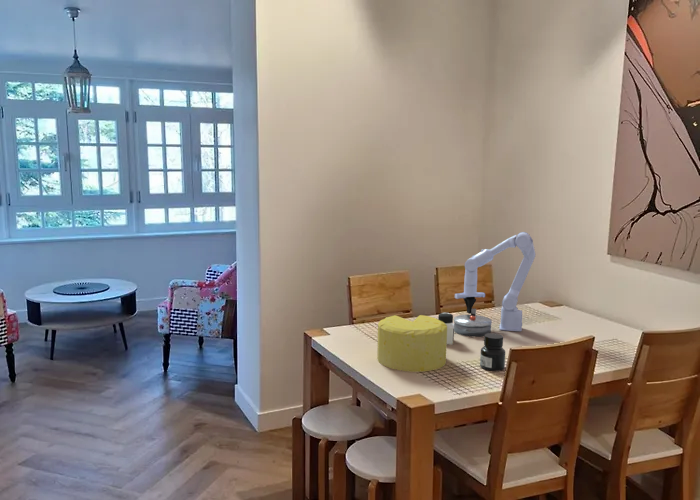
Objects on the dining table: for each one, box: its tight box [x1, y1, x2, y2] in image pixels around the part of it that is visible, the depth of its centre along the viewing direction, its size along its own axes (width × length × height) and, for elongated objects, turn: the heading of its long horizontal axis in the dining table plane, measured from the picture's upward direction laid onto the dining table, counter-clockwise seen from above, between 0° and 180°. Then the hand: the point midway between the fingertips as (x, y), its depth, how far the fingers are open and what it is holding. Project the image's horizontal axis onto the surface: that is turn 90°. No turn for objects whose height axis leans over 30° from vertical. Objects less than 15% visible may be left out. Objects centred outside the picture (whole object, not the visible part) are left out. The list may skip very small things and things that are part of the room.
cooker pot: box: [453, 321, 492, 338], centre depth 269 cm, size 20×16×4 cm
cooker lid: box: [453, 308, 493, 327], centre depth 269 cm, size 22×16×3 cm
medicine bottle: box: [437, 312, 455, 345], centre depth 251 cm, size 7×7×12 cm
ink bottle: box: [479, 332, 506, 372], centre depth 221 cm, size 10×9×12 cm
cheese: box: [376, 314, 448, 373], centre depth 228 cm, size 26×26×15 cm
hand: (469, 313), depth 277 cm, fingers closed, pressing on cooker lid
